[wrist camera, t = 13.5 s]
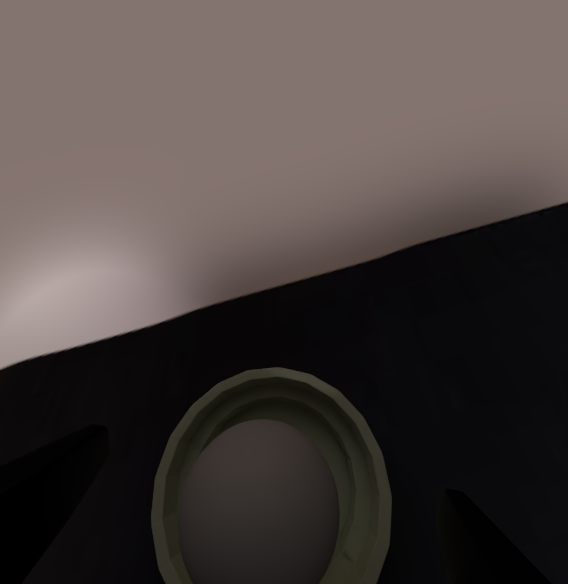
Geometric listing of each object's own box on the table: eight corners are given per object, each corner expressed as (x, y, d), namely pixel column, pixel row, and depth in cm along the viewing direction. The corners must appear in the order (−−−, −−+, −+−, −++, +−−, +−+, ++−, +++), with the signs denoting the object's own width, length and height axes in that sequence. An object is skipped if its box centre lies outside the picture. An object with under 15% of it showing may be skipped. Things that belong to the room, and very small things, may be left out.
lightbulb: (278, 410, 20) (261, 375, 11) (344, 488, 18) (395, 532, 9) (207, 479, 19) (110, 510, 9) (269, 574, 16) (228, 754, 7)
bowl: (262, 676, 15) (249, 757, 11) (148, 468, 20) (110, 472, 16) (412, 490, 18) (442, 501, 15) (284, 350, 23) (282, 329, 19)
